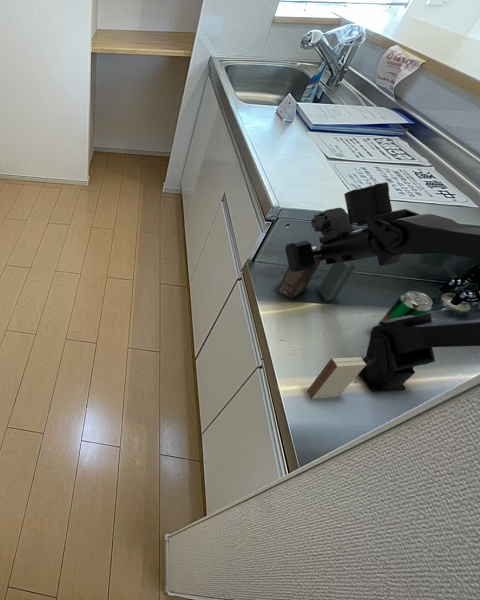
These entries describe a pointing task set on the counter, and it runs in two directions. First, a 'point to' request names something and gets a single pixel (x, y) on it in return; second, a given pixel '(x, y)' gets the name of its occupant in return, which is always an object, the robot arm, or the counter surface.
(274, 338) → the counter surface
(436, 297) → the counter surface
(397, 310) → the soda can
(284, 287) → the box
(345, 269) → the grey books
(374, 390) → the robot arm
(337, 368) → the cream books
